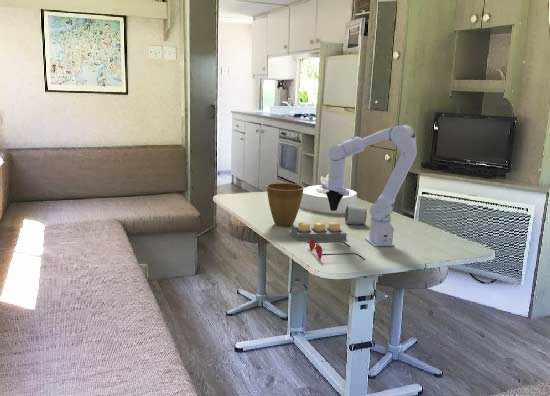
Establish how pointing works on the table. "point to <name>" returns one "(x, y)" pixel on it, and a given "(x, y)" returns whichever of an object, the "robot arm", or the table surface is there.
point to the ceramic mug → (355, 215)
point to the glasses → (319, 248)
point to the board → (318, 234)
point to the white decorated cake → (325, 199)
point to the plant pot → (284, 202)
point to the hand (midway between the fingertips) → (333, 210)
